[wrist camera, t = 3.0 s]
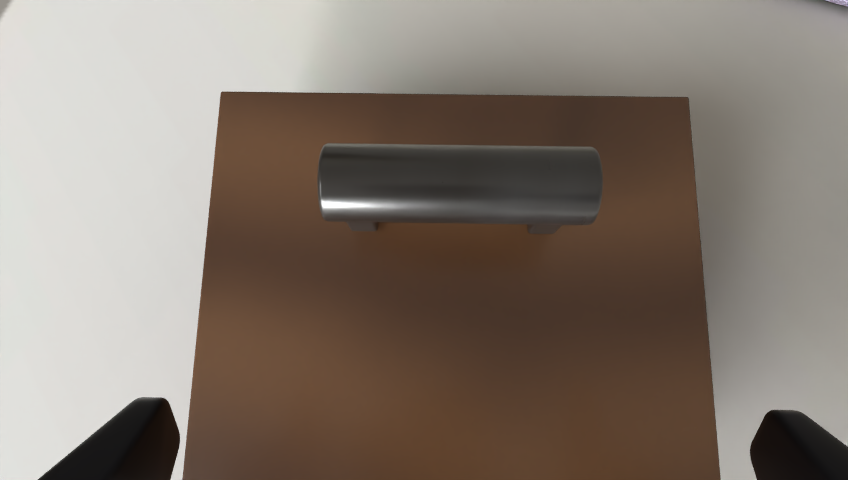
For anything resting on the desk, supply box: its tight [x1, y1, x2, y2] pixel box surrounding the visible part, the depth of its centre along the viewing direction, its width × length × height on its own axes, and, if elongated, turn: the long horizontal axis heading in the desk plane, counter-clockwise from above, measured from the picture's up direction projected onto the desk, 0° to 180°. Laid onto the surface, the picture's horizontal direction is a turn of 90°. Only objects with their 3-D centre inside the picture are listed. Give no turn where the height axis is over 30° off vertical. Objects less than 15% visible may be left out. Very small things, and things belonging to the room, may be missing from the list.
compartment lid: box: [183, 92, 721, 480], centre depth 13 cm, size 10×13×5 cm
